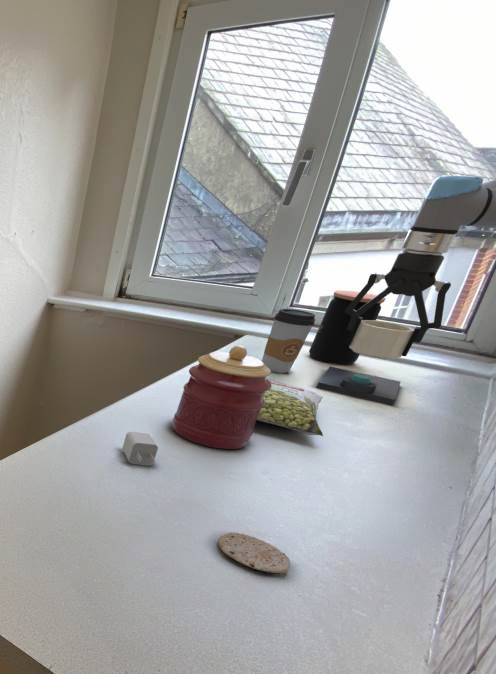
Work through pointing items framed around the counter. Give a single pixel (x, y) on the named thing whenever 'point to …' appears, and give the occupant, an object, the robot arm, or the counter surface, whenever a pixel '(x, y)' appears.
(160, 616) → the counter surface
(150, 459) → the usb wall charger
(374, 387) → the scale
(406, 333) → the bowl
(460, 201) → the robot arm
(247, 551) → the flatbread
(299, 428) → the frozen beans
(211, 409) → the kitchen canister
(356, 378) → the button
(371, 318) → the coffee jar
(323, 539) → the counter surface
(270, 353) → the coffee cup
